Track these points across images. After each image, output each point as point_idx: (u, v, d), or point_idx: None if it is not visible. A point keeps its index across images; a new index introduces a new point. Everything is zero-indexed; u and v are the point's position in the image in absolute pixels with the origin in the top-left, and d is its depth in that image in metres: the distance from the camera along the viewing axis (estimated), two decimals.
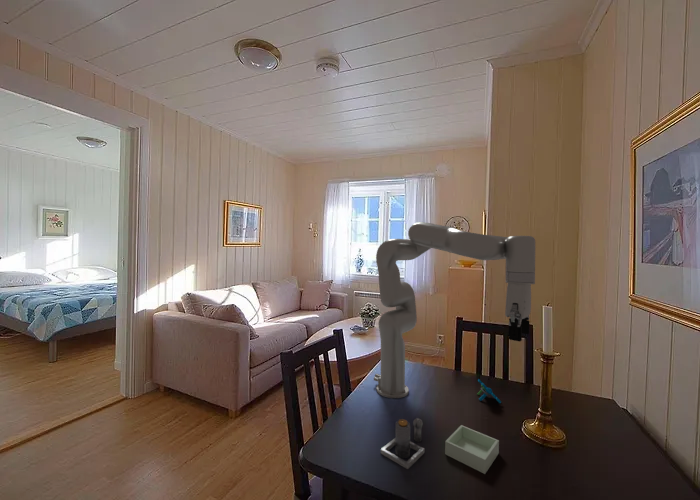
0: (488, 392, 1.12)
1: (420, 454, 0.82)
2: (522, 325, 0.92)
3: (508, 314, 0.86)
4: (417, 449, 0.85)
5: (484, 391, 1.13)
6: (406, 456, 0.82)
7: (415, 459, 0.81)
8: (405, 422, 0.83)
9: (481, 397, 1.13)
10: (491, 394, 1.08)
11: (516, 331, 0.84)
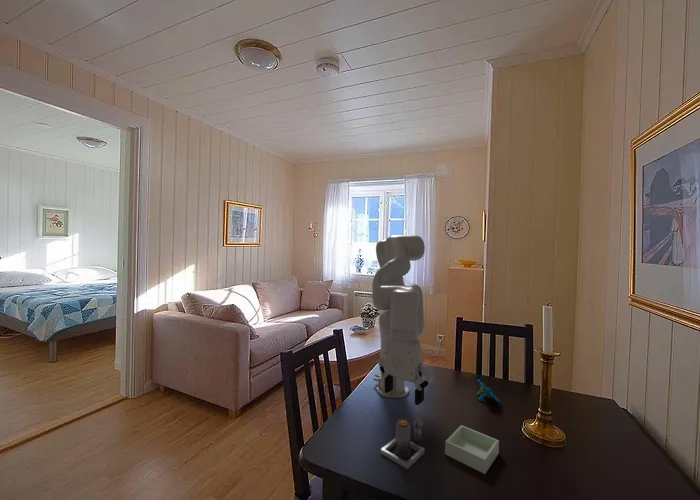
0: (487, 392, 1.12)
1: (420, 454, 0.82)
2: (389, 383, 0.86)
3: (416, 378, 0.79)
4: (417, 449, 0.85)
5: (483, 391, 1.13)
6: (406, 456, 0.82)
7: (415, 459, 0.81)
8: (405, 422, 0.83)
9: (480, 397, 1.13)
10: (490, 394, 1.08)
11: (423, 393, 0.80)
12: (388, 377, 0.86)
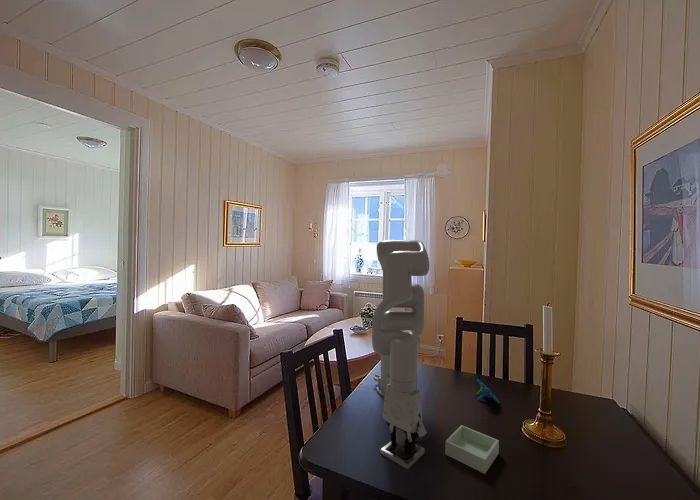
0: (487, 392, 1.12)
1: (420, 454, 0.82)
2: None
3: (415, 429, 0.79)
4: (417, 449, 0.85)
5: (483, 391, 1.14)
6: (406, 456, 0.82)
7: (415, 459, 0.81)
8: None
9: (480, 397, 1.13)
10: (489, 394, 1.09)
11: (414, 443, 0.82)
12: (395, 430, 0.85)
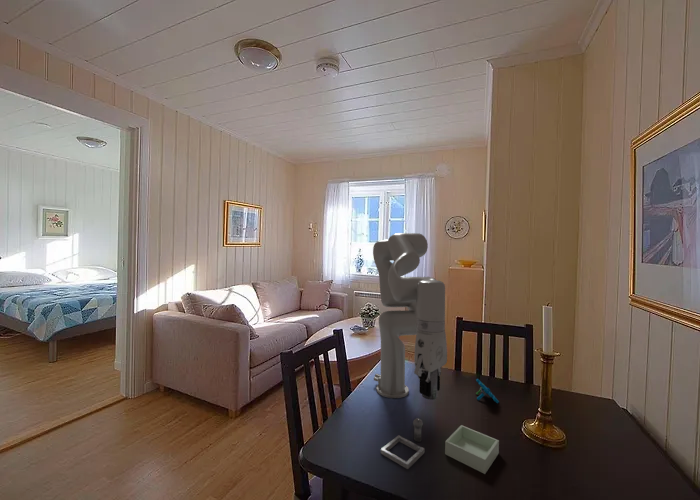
0: (486, 392, 1.12)
1: (420, 454, 0.82)
2: None
3: None
4: (417, 449, 0.85)
5: (482, 391, 1.14)
6: None
7: (415, 459, 0.81)
8: None
9: (479, 396, 1.13)
10: (488, 394, 1.09)
11: None
12: None
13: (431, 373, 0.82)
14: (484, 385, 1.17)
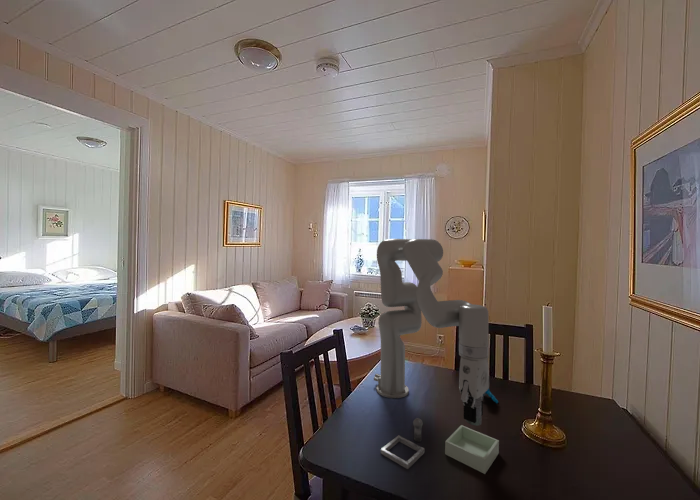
0: (485, 392, 1.12)
1: (420, 454, 0.82)
2: None
3: None
4: (417, 449, 0.85)
5: None
6: None
7: (415, 459, 0.81)
8: None
9: None
10: (487, 393, 1.09)
11: None
12: None
13: (476, 399, 0.81)
14: None
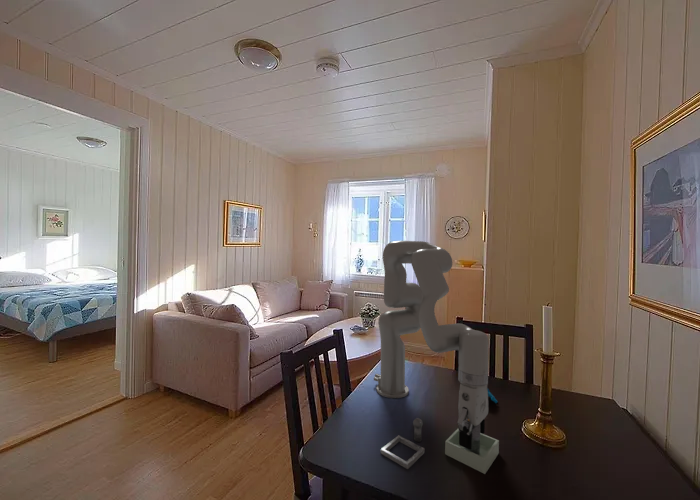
0: None
1: (420, 454, 0.82)
2: None
3: None
4: (417, 449, 0.85)
5: None
6: None
7: (415, 459, 0.81)
8: None
9: None
10: None
11: None
12: None
13: (475, 430, 0.82)
14: None
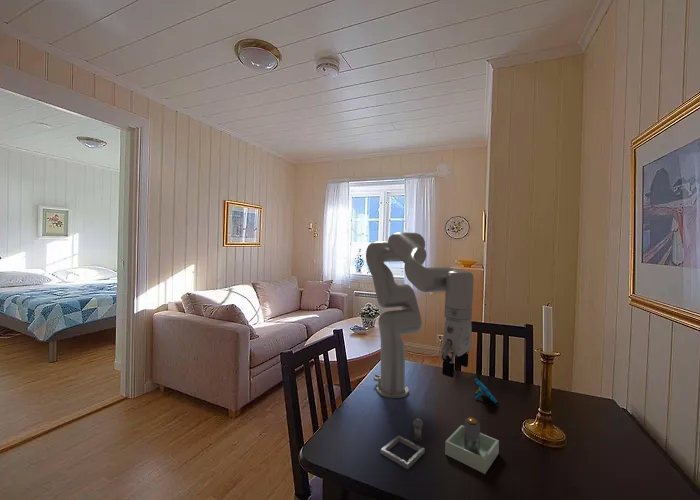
0: (484, 391, 1.12)
1: (420, 454, 0.82)
2: None
3: None
4: (417, 449, 0.85)
5: (480, 390, 1.14)
6: None
7: (415, 459, 0.81)
8: (472, 418, 0.84)
9: (477, 396, 1.13)
10: (485, 393, 1.09)
11: None
12: None
13: (474, 430, 0.82)
14: (483, 385, 1.17)
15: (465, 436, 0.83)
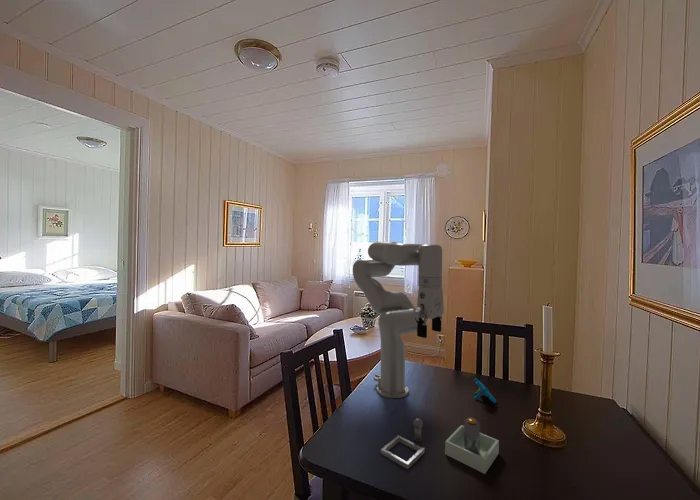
0: None
1: (420, 454, 0.82)
2: None
3: None
4: (417, 449, 0.85)
5: (480, 390, 1.14)
6: None
7: (415, 459, 0.81)
8: (472, 418, 0.84)
9: (476, 396, 1.14)
10: (484, 393, 1.09)
11: None
12: None
13: (474, 430, 0.82)
14: (483, 385, 1.17)
15: (465, 436, 0.83)
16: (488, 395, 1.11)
